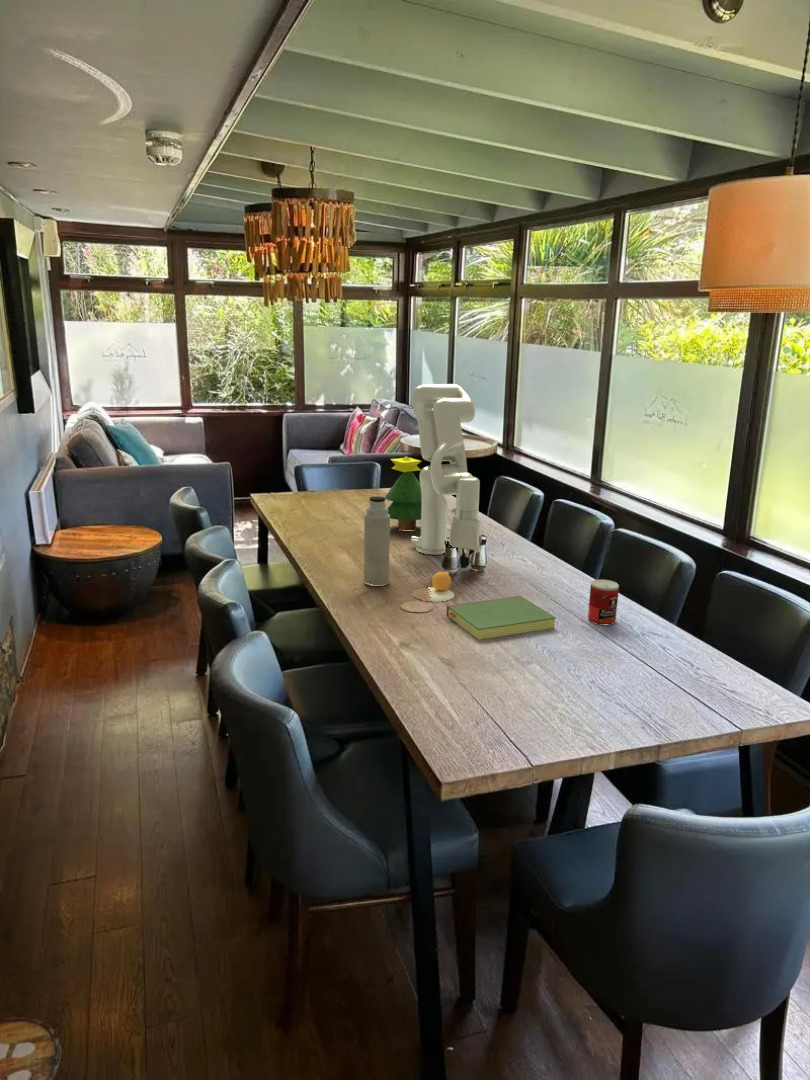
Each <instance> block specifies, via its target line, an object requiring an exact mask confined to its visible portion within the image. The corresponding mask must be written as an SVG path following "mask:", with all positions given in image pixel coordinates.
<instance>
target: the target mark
mask: <svg viewBox="0 0 810 1080" xmlns="http://www.w3.org/2000/svg"><path fill="white" fill-rule="evenodd" d="M428 589H430V590H429V591H431V592H430V593H429V594H431V593H432V594H431V595H430V596H431V597H432V598H430V599H431V600H432V601H433V602H432V603H442V602H441V601H444V602H448V601H451V600H453V599H454V598H455V593H454V592H453V591H451V590H450V589H447V590H445V591H439V590H437V589H435V588H434V587H433V586H431V587H430V586H429V587H428ZM429 591H428V592H429ZM433 594H434V595H433ZM433 596H434V597H433ZM452 598H453V599H452ZM450 599H451V600H450ZM431 600H430V601H431ZM447 600H448V601H447Z"/></svg>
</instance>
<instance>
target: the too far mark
mask: <svg viewBox="0 0 810 1080" xmlns="http://www.w3.org/2000/svg"><path fill="white" fill-rule="evenodd" d="M429 603H430V602H429ZM429 603H428V604H429ZM426 609H427V608H426ZM434 609H435V605H434V604H433V603H431V605H429V611H430V612H432V611H433V610H434ZM431 610H432V611H431Z"/></svg>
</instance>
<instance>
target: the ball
mask: <svg viewBox="0 0 810 1080" xmlns="http://www.w3.org/2000/svg"><path fill="white" fill-rule="evenodd" d="M431 584H432V587H434V588H435V589H437V590H439V591H445V590H449V589H450V587H451V585H452V578H451V576H450V575H449V574H448V573H447V572H445V571H438V572H436V573H434V574H433V576H432V579H431Z"/></svg>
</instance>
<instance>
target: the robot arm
mask: <svg viewBox="0 0 810 1080" xmlns="http://www.w3.org/2000/svg"><path fill="white" fill-rule="evenodd" d="M411 405H412V410H413V413H414V415H415V419H416V421H417V425H418V426H417V427H418V435H419V444H420V446H419V447H420V453H421V456H422V459H423V460H424V461H427V462H430V465H427V466H425V467H422V468H421V469H420V471H419V483H420V485H421V496H422V505H421V520H420V536H415V535H412V536H411V537H410V538H411V539H410V540H411V543H412V544H417V545H416V546H415V550H416V551H417V552H418V553H420V552H421V553H420V554H423V553H424V555H429V554H430V555H434V556H436V555H437V556H439V555H444V554H443V552H444V542H445V540H446V539H447V535H448V534H447V533H448V513H449V512H448V511H449V510H448V507H449V506H448V504H449V503H448V501H447V499H446V496H453V495H455V508H451V513H452V514H454V516H452V519H451V524H450V530H449V537H448V542H449V543H448V544H449V546H450V545H451V546H452V547H457V548H456V550H457V551H456V550H455V551H456V553H457V554H458V556H459V565H460V568H461V569H462V568H463V569H467V568H468V567H469V566H470V561H471V560H470V559H471V556H472V554H475V553H480V552H481V551H482V550H481V546H482V526H481V519H480V518H479V505H480V487H481V486H480V485H481V483H480V482H481V481H480V479H479V478H478V477H476V476H473V475H472V474H471V473H470V472H468V467H467V466H468V464H467V455H466V448H465V442H464V435H463V431H462V426H461V425H462V423H470V422H472V421H473V420H474V418H475V414H476V409H475V404H474V403H473V400H472V398H471V397H470V396H469V394H467V392H466V391H465V390H464V389H463V388H462V387H461V386H460V385H458V384H456V383H426V384H420V385H418V386H416V387H415V388H414V389H413V391H412V396H411ZM442 462H449V464H447V463H446V464H442ZM446 541H447V540H446Z"/></svg>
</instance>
